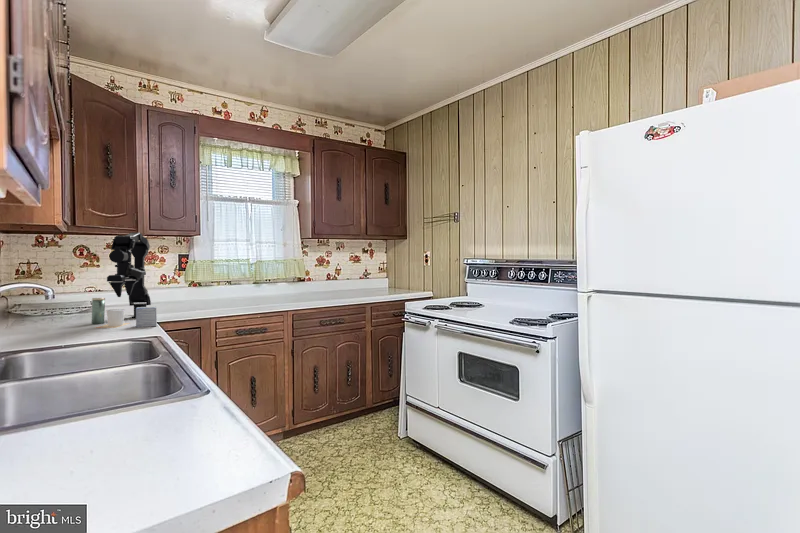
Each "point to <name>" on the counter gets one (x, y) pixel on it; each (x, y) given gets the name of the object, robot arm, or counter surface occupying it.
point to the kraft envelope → (111, 326)
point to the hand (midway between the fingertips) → (124, 296)
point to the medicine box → (146, 316)
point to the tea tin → (98, 310)
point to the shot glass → (115, 317)
